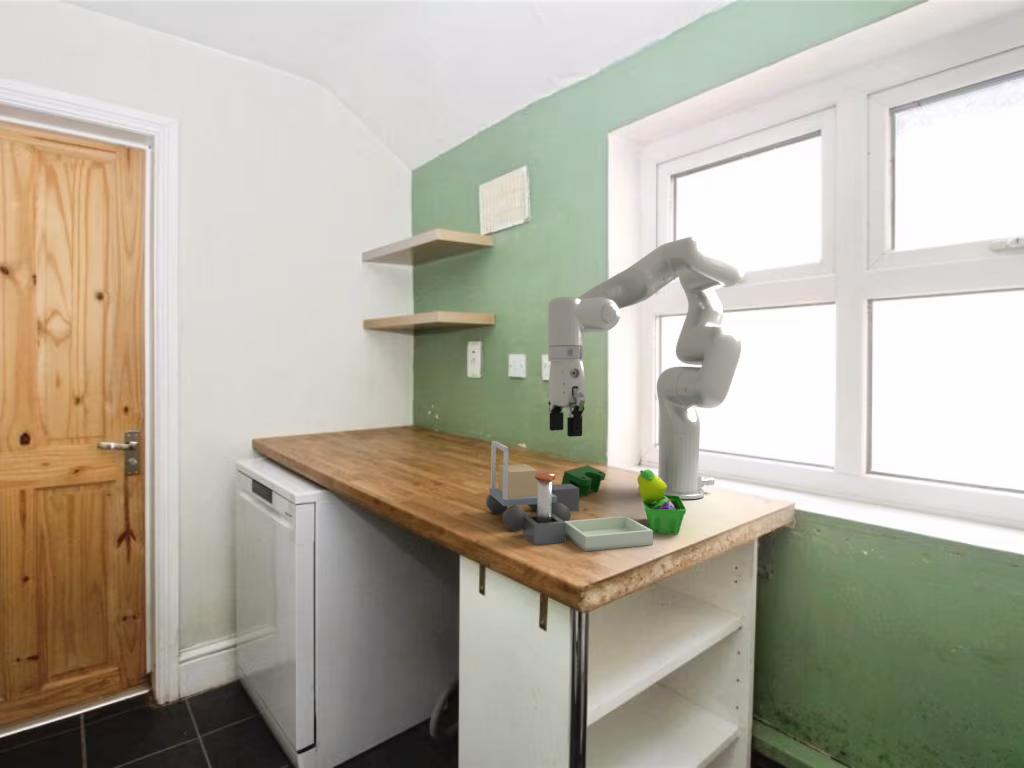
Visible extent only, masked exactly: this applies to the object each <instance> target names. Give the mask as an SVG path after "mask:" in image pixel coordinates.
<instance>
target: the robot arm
mask: <svg viewBox="0 0 1024 768" xmlns="http://www.w3.org/2000/svg"><path fill="white" fill-rule="evenodd" d="M745 266H746V265H745V261H744V259H743V258H742V256H741V255H740V254H739V252H737V251H736V250H734V249H732V248H729V247H726V246H724V245H721V244H720V243H716V242H713V241H711V240H708V239H705V238H702V237H697V236H688V237H685V238H681V239H676V240H673V241H669V242H666V243H663V244H661V245H659V246H658V247H656V248H654V249H653V250H652V251H650V252H648V253H647V254H646V255H645V256H644V257H642V258H640V259H639V260H638V261H637V262H634V263H633V264H632V265H630V266H629V267H627V268H626V269H625V270H623V271H621V272H618V273H617V274H615V275H614V276H611V277H609V278H608V279H606V280H604V281H603V282H600V283H599V284H597V285H595V286H594V287H591V288H590V289H588V290H587V291H585V292H584V293H582V294H581V295H580V296H577V297H576V296H558V297H553V298H551V299H550V300H549V302H548V306H547V307H548V310H547V311H548V312H547V313H548V315H547V316H548V319H547V322H548V323H547V325H548V326H547V329H548V331H547V332H548V334H547V342H548V343H547V344H548V345H547V346H548V347H547V348H548V349H547V350H548V351H547V352H548V353H547V354H548V355H547V356H548V357H547V358H548V359H547V362H550V366H549V374H548V375H549V377H548V393H547V398H548V405H549V408H548V412H549V431H552V432H553V431H563V430H564V411H563V408H564V409H565V408H566V411H567V414H568V417H567V421H566V422H567V423H566V425H567V428H566V432H567V433H566V434H567V437H569V438H571V437H582V436H583V418H584V410H585V406H586V403H587V401H586V399H587V397H586V393H587V392H586V380H585V379H586V378H585V375H586V374H585V370H584V369H585V368H584V360H583V359H584V334H586V333H601V332H607V331H611V330H612V329H613V328H615V327H616V326H617V325H618V323H619V321H620V319H621V311H620V310H621V309H623V308H627V307H630V306H634V305H637V304H639V303H642V302H644V301H646V300H648V299H650V298H651V297H652V296H653V295H655V294H656V293H657V292H659V291H660V290H661V289H663V288H664V287H666V286H667V285H668V284H669V283H671V282H672V281H674V280H675V279H677V278H679V280H678V281H679V283H680V285H681V287H682V289H683V291H684V293H685V296H686V298H687V304H688V306H687V307H688V308H687V313H686V316H685V320H684V322H683V325H682V328H681V330H680V333H679V336H678V339H677V342H676V347H675V355H676V358H677V359H678V360H679V361H680V362H682V363H684V364H685V365H687V364H688V365H694V366H673V367H668V368H667V369H665V370H663V371H662V372H661V373H660V375H659V376H658V379H657V380H656V381H657V382H656V395H657V398H658V405H659V435H658V436H659V441H658V443H659V444H658V447H659V448H658V473H657V474H658V475H657V477H659V478H660V479H661V480H662V481H664V482H665V484H666V486H667V489H666V491H665V494H664V495H675V496H679V497H680V499H681V500H697V499H701V498H703V497H705V491H704V489H702V488H703V487H705V486H713V485H715V479H714V478H713V477H705V478H703V476H701V475H699V467H700V466H699V463H700V461H699V460H700V439H701V438H700V435H701V423H700V418H699V415H698V411H697V410H696V408H702V409H711V408H712V409H713V408H716V407H719V406H720V405H721V404H722V403H723V402H724V401H725V399H726V397H727V395H728V393H729V390H730V387H731V385H732V382H733V378H734V375H735V372H736V369H737V366H738V363H739V361H740V360H739V359H740V356H741V351H742V343H741V338H740V335H739V333H738V332H737V331H736V329H734V328H733V327H731V326H729V325H723V324H722V325H721V323H722V320H723V315H724V307H723V304H722V302H721V300H720V299H719V297H718V295H717V293H716V291H715V289H721V288H722V289H723V288H728V287H729V288H730V287H732V286H734V285H736V284H738V283H740V281H741V280H742V279H743V278H744V275H745V269H746V267H745ZM695 365H696V366H695ZM697 366H698V367H697ZM562 411H563V412H562Z"/></svg>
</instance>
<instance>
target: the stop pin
mask: <svg viewBox="0 0 1024 768" xmlns="http://www.w3.org/2000/svg"><path fill="white" fill-rule="evenodd" d="M535 479H537V480H538V491H537V511H536V515H537V523H548V522H551V508H552V485H553V481H555V480H556V472H554V471H551V470H538V471H537V472H535Z"/></svg>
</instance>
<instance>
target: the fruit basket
mask: <svg viewBox="0 0 1024 768" xmlns="http://www.w3.org/2000/svg"><path fill="white" fill-rule="evenodd" d="M637 484H638V494H639V496H640V497H641V499H642V502H643V505H644V510H645V515H646V519H647V523H648V528H649V529H651V530H653V534H654V533H657V534H667V535H668V534H669V535H670V534H673V535H678V534H679V533H680V530H681V527H682V522H683V519H684V516H685V515H686V512H687V508H686V506H685V505H684V503H683V500H682V499H680V497H679V496H675V495H664V494H665V491H666V489H667V486H666V484H665V482H664V481H662V480H661V479H660V478H659V477H658V475H656V474H655V473H654V472H653V471H652V470H651V469H644V470H643V469H641V470H640V471H639V474H638V477H637Z"/></svg>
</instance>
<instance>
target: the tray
mask: <svg viewBox="0 0 1024 768" xmlns="http://www.w3.org/2000/svg"><path fill="white" fill-rule="evenodd" d="M564 522H565V523H566V539H567V538H568V540H570V541H571V542H573V543H574V544H575V545H577V546H578V547H579V548H580V549H582V550H583V551H584V552H591V551H601V550H602V551H603V550H611V549H620V548H621V549H622V548H629V547H630V548H632V547H641V546H649V545H650V546H652V545H653V543H654V541H653V539H654V533H653V530H651V529H650V528H649V527H647V526H646V525H643V524H641V523H640V522H638V521H636V520H635V519H632V518H631V517H629V516H628V515H624V516H623V515H622V516H610V517H599V518H598V517H597V518H586V519H584V518H583V519H573V520H569V521H564Z"/></svg>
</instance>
